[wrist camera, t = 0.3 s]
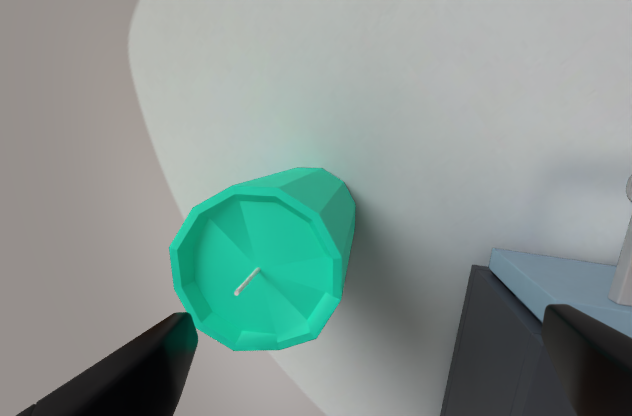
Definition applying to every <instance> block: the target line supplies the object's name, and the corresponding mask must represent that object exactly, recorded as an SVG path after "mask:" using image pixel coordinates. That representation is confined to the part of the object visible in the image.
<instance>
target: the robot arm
mask: <svg viewBox="0 0 632 416" xmlns="http://www.w3.org/2000/svg"><path fill="white" fill-rule="evenodd" d="M541 336H542V341H543V343H544V345H545V348H546V350H547V352H548V354H549V357H550V359H551V361H552V364H553V366H554V368H555V370H556V373H557V375H558V377H559V379H560V382H561V384H562V386H563V389H564V391H565V393H566V395H567V397H568V399H569V402H570V404H571V406H572V408H573V409H574V411H575V413H576V415H577V416H632V338H631V337H629V336H627V335H625V334H623V333H621V332H619V331H618V330H616V329H614V328H612V327H610V326H608V325H606V324H604V323H602V322H600V321H599V320H597V319H595V318H593V317H591V316H589V315H587V314H585V313H583V312H581V311H580V310H578V309H576V308H574V307H572V306H570V305H568V304H549V305H547V306H546V308H545V311H544V317H543V323H542V329H541ZM197 343H198V335H197V331H196V328H195V325H194V322H193V318H192V316H191V314H190V313H188V312H183V313H182V312H179V313H173V314H172V315H170V316H169V317H167V318H166V319H164V320H163V321H161V322H160V323H158V324H156V325H155V326H153V327H152V328H150V329H149V330H147V331H146V332H144V333H142V334H141V335H140V336H138V337H136V338H135V339H133V340H132V341H130V342H129V343H127V344H125V345H124V346H122V347H121V348H119V349H118V350H116V351H115V352H113V353H112V354H110V355H109V356H107V357H105V358H104V359H102V360H101V361H99V362H98V363H96V364H95V365H93V366H92V367H90V368H89V369H87V370H85V371H84V372H82V373H81V374H79V375H78V376H76V377H75V378H73V379H72V380H70V381H68V382H67V383H65V384H64V385H62V386H61V387H59V388H58V389H56V390H55V391H53V392H52V393H50V394H48V395H47V396H45V397H44V398H42V399H41V400H39V401H38V402H37V403H36V404H33V405H31V406H30V407H28V408H27V409H25V410H24V411H22V412H21V413H19V414H18V415H16V416H173V414H174V412H175V409H176V407H177V404H178V402H179V399H180V397H181V394H182V391H183V388H184V385H185V382H186V378H187V375H188V372H189V369H190V366H191V363H192V360H193V357H194V354H195V351H196V347H197Z"/></svg>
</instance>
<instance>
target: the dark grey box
mask: <svg viewBox="0 0 632 416" xmlns="http://www.w3.org/2000/svg"><path fill="white" fill-rule="evenodd" d="M514 296H516V295H515V294H514V293H513V292H512V291H511V290H510V289H509V288H508V287H507V286H506V285H505V284H504V283H503V282H502V281H501V280H500V279H499V278H498V277H497V276H496V275H495V274H494V273H493V272H492V271H491V270H490V269H489V267H485V266H478V265H472V267H471V272H470V277H469V282H468V286H467V291H466V296H465V301H464V305H463V310H462V315H461V320H460V324H459V329H458V334H457V339H456V343H455V348H454V353H453V358H452V362H451V367H450V372H449V376H448V381H447V386H446V391H445V395H444V400H443V405H442V410H441V414H440V416H577V415H576V413H575V411H574V409H573V408H572V406H571V404H570V402H569V399H568V397H567V395H566V393H565V391H564V389H563V386H562V384H561V382H560V379H559V377H558V375H557V373H556V370H555V368H554V366H553V364H552V361H551V359H550V357H549V354H548V352H547V350H546V348H545V345H544V343H543V341H542V336H541V329H542V325H541V324H540V323H539V322H538V320H537V319H536V318H535V317H534V316H533V315H532V314H531V313H530V312H529V311H528V310H527V309H526V308H525V307H524V306H523V305H522V304H521V303H520V302H519V301H518V300H517V299H516V298H515V297H514ZM516 297H517V296H516Z"/></svg>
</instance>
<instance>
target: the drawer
mask: <svg viewBox="0 0 632 416" xmlns="http://www.w3.org/2000/svg"><path fill="white" fill-rule="evenodd" d="M626 193H627V197H628V199H629V200H630V201H631V202H632V175H631V176H630V178H629V180H628V182H627V186H626ZM489 269H490V270H491V271H492V272H493V273H494V274H495V275H496V276H497V277H498V278H499V279H500V280H501V281H502V282H503V283H504V284H505V285H506V286H507V287H508V288H509V289H510V290H511V291H512V292H513V293H514V294H515V295H516V296H517V297H516V296H514V297H515V298H516V299H517V300H518V301H519V302H520V303H521V304H522V305H523V306H524V307H525V308H526V309H527V310H528V311H529V312H530V313H531V314H532V315H533V316H534V317H535V318H536V319H537V320H538V322H539V323H540V324H541V325H542V323H543V317H544V311H545V308H546V306H547V305H549V304H568V305H570V306H572V307H574V308H576V309H578V310H580V311H581V312H583V313H585V314H587V315H589V316H591V317H593V318H595V319H597V320H599V321H600V322H602V323H604V324H606V325H608V326H610V327H612V328H614V329H616V330H618V331H619V332H621V333H623V334H625V335H627V336H629V337H631V338H632V217H631V220H630V223H629V227H628V230H627V234H626V237H625V240H624V244H623V247H622V250H621V254H620V257H619V261H618V264H617V266H612V265H605V264H598V263H591V262H585V261H578V260H571V259H564V258H557V257H551V256H544V255H537V254H530V253H523V252H517V251H510V250H503V249H496V248H493V249H492V254H491V258H490V263H489Z"/></svg>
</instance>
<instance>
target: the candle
mask: <svg viewBox="0 0 632 416" xmlns="http://www.w3.org/2000/svg"><path fill="white" fill-rule="evenodd" d="M355 210H356V204H355V202H354V200H353V198H352V196H351V194H350V193H349V191H348V189H347V187H346V185H345V183H344V182H343V181H342V180H340V179H338V178H337V177H335V176H334V175H332V174H330V173H329V172H327V171H326V170H324V169H322V168H294V169H290V170H287V171H283V172H279V173H276V174H272V175H268V176H265V177H261V178H258V179H254V180H250V181H247V182H243V183H240V184H236V185H232V186H231V187H229V188H227V189H225V190H223V191H222V192H220V193H218V194H216V195H215V196H213V197H211V198H209V199H207V200H206V201H204V202H202V203H200V204H199V205H197V206H195V207H193V208H192V210H191V212H190V213H189V215H188V217H187V218H186V220H185V222H184V223H183V225H182V227H181V229H180V230H179V232H178V233H177V235H176V237H175V238H174V240H173V242H172V243H171V245H170V247H169V251H170V260H171V268H172V276H173V283H174V290H175V292H176V293H177V295H178V297H179V299H180V300H181V302H182V304H183V306H184V308H185V309H186V311H187V312H188V313H190V314H191V316H192V318H193V322H194V325H195V327H196V328H197V329H198V330H200V331H202V332H204V333H205V334H207V335H208V336H210V337H212V338H213V339H215V340H217V341H218V342H220V343H222V344H224V345H225V346H227V347H229V348H230V349H232V350H233V351H252V350H253V351H254V350H281V349H284V348H288V347H291V346H294V345H297V344H301V343H304V342H307V341H311V340H314V339H316V338H317V337H318V335H319V334H320V332H321V330H322V329H323V327H324V326H325V324H326V323H327V321H328V320H329V318H330V316H331V315H332V313H333V312H334V310H335V309H336V307H337V306H338V304H339V302H340V301H341V298H342V293H343V288H344V283H345V277H346V272H347V267H348V262H349V256H350V251H351V246H352V241H353V235H354V230H355Z"/></svg>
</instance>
